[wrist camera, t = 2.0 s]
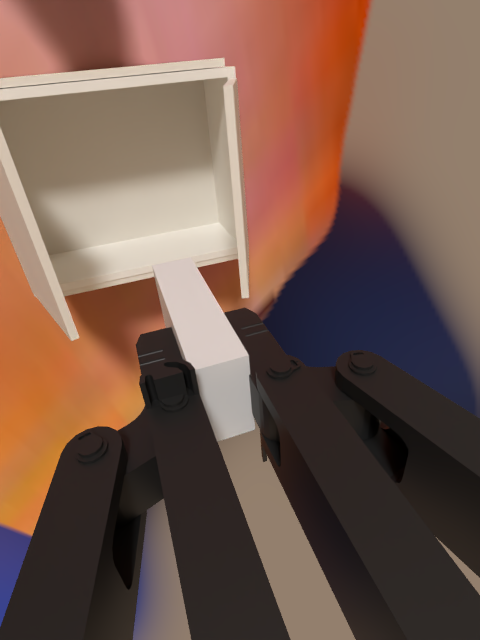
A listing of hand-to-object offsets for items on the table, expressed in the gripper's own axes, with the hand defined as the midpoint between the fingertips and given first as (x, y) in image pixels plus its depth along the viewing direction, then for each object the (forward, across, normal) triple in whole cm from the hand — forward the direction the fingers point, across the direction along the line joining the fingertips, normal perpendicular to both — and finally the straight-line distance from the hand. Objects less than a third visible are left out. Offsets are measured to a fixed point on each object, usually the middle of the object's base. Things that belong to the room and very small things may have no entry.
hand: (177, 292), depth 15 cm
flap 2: (+13, +7, 0) cm, 14 cm away
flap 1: (+13, -7, 0) cm, 15 cm away
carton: (+25, 0, 0) cm, 25 cm away
